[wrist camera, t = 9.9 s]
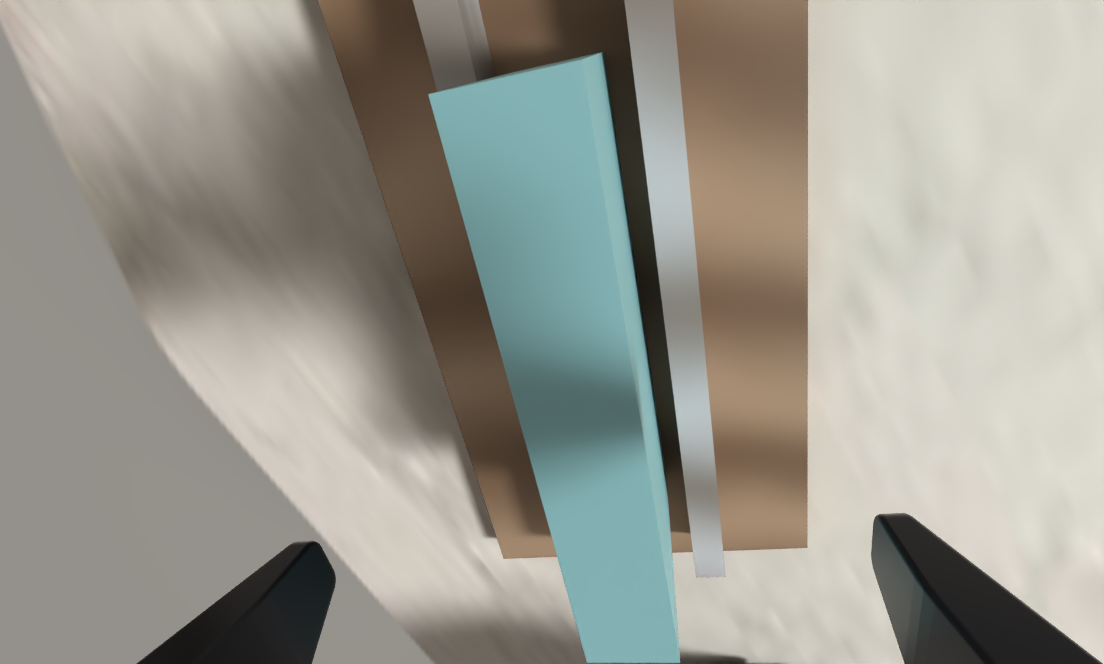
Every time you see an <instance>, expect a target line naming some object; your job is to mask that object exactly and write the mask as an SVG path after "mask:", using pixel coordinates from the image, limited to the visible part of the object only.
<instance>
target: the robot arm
mask: <svg viewBox="0 0 1104 664" xmlns="http://www.w3.org/2000/svg"><path fill="white" fill-rule="evenodd" d="M871 558H872V565H873V569H874V572H875V576H876V579H877V582H878V585H879V588H880V591H881V594H882V597H883V600H884V603H885V606H886V609H887V612H888V615H889V618H890V621H891V624H892V627H893V630H894V633H895V636H896V639H897V642H898V645H899V648H900V651H901V654H902V657H903V660H904V663H905V664H1102V663H1101V662H1100V661H1099V660H1097V659H1096V658H1095V657H1093V656H1092V655H1091V654H1090V653H1088V652H1087V651H1086V650H1084V649H1083V648H1082V647H1080V646H1079V645H1078V644H1077V643H1075V642H1074V641H1073V640H1071V639H1070V638H1069V637H1067V636H1066V635H1065V634H1064V633H1062V632H1061V631H1060V630H1058V629H1057V628H1056V627H1055V626H1053V625H1052V624H1051V623H1049V622H1048V621H1047V620H1045V619H1044V618H1043V617H1042V616H1040V615H1039V614H1038V613H1036V612H1035V611H1034V610H1033V609H1031V608H1030V607H1029V606H1027V605H1026V604H1025V603H1023V602H1022V601H1021V600H1020V599H1018V598H1017V597H1016V596H1014V595H1013V594H1012V593H1010V592H1009V591H1008V590H1007V589H1005V588H1004V587H1003V586H1001V585H1000V584H999V583H998V582H996V581H995V580H994V579H992V578H991V577H990V576H988V575H987V574H986V573H985V572H983V571H982V570H981V569H979V568H978V567H977V566H975V565H974V564H973V563H972V562H970V561H969V560H968V559H966V558H965V557H964V556H963V555H961V554H960V553H959V552H957V551H956V550H955V549H953V548H952V547H951V546H950V545H948V544H947V543H946V542H944V541H943V540H942V539H941V538H939V537H938V536H937V535H935V534H934V533H933V532H931V531H930V530H929V529H928V528H926V527H925V526H924V525H922V524H921V523H920V522H918V521H917V520H916V519H915V518H913V517H912V516H910V515H908V514H905V513H894V514H879V515H877V516H876V517H875V519H874V523H873V537H872V551H871ZM335 582H336V577H335V572H334V570H333V568H332V566H331V564H330V562H329V560H328V558H327V557H326V555H325V553H324V551H323V549H322V547H321V546H320V544H319V543H317V542H315V541H303V542H295V543H292V544H290V545H289V546H288V547H286V548H285V549H284V550H283V551H281V552H280V553H279V554H277V555H276V556H275V557H274V558H273V559H271V560H270V561H268V562H267V563H266V564H264V566H262V567H261V568H259V569H258V570H257V571H255V572H254V573H253V574H252V575H250V576H249V577H248V578H246V579H245V580H244V581H243V582H241V583H240V584H239V585H238V586H236V587H235V588H234V589H232V590H231V591H230V592H228V593H227V594H226V595H224V596H223V597H222V598H221V599H219V600H218V601H217V602H215V603H214V604H213V605H212V606H210V607H209V608H208V609H206V610H205V611H204V612H203V613H201V614H200V615H199V616H197V617H196V618H195V619H194V620H192V621H191V622H190V623H188V624H187V625H186V626H185V627H183V628H182V629H181V630H179V631H178V632H177V633H176V634H174V635H173V636H172V637H170V638H169V639H168V640H166V641H165V642H164V643H163V644H161V645H160V646H159V647H158V648H156V649H155V650H153V651H152V652H151V653H150V654H148V655H147V656H146V657H145V658H143V659H142V660H141V661H139V662H138V663H137V664H312V661H313V657H314V654H315V651H316V648H317V644H318V641H319V638H320V634H321V631H322V628H323V625H324V621H325V618H326V615H327V611H328V608H329V605H330V601H331V598H332V595H333V591H334V588H335Z"/></svg>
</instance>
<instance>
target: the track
mask: <svg viewBox="0 0 1104 664" xmlns="http://www.w3.org/2000/svg"><path fill="white" fill-rule="evenodd" d="M318 3H319V6H320V9H321V12H322V15H323V18H324V21H325V24H326V27H327V30H328V33H329V36H330V39H331V42H332V45H333V48H334V51H335V54H336V57H337V60H338V63H339V66H340V69H341V72H342V75H343V78H344V81H345V84H346V87H347V90H348V93H349V96H350V99H351V102H352V105H353V108H354V111H355V114H356V117H357V120H358V123H359V126H360V129H361V132H362V135H363V138H364V141H365V144H366V147H367V150H368V153H369V156H370V159H371V162H372V165H373V168H374V171H375V174H376V177H377V180H378V183H379V186H380V189H381V192H382V195H383V198H384V201H385V204H386V207H387V210H388V213H389V216H390V219H391V222H392V225H393V228H394V231H395V234H396V237H397V240H398V243H399V246H400V249H401V252H402V255H403V258H404V261H405V264H406V267H407V270H408V273H409V276H410V279H411V282H412V285H413V288H414V291H415V294H416V297H417V300H418V303H419V306H420V309H421V312H422V315H423V318H424V321H425V324H426V327H427V330H428V333H429V336H430V339H431V342H432V345H433V348H434V351H435V354H436V357H437V360H438V363H439V366H440V369H441V372H442V375H443V378H444V381H445V384H446V387H447V390H448V393H449V396H450V399H451V402H452V405H453V408H454V411H455V414H456V417H457V420H458V423H459V426H460V429H461V432H462V435H463V438H464V441H465V444H466V447H467V450H468V453H469V456H470V459H471V462H472V465H473V468H474V471H475V474H476V477H477V480H478V483H479V486H480V489H481V492H482V495H483V498H484V501H485V504H486V507H487V510H488V513H489V516H490V519H491V522H492V525H493V528H494V531H495V534H496V537H497V540H498V543H499V546H500V549H501V552H502V555H503V558H504V559H508V558H536V557H557V554H556V550H555V547H554V543H553V540H552V536H551V532H550V529H549V525H548V522H547V518H546V514H545V511H544V507H543V504H542V500H541V497H540V493H539V489H538V486H537V482H536V479H535V475H534V471H533V468H532V464H531V461H530V457H529V454H528V450H527V446H526V443H525V439H524V436H523V432H522V428H521V425H520V421H519V418H518V414H517V411H516V407H515V403H514V400H513V396H512V393H511V389H510V385H509V382H508V378H507V375H506V371H505V368H504V364H503V360H502V357H501V353H500V350H499V346H498V343H497V339H496V335H495V332H494V328H493V325H492V321H491V317H490V314H489V310H488V307H487V303H486V300H485V296H484V292H483V289H482V285H481V282H480V278H479V274H478V271H477V267H476V264H475V260H474V257H473V253H472V249H471V246H470V242H469V239H468V235H467V231H466V228H465V224H464V221H463V217H462V214H461V210H460V206H459V203H458V199H457V196H456V192H455V189H454V185H453V181H452V178H451V174H450V171H449V167H448V163H447V160H446V156H445V153H444V149H443V146H442V142H441V138H440V135H439V131H438V128H437V124H436V120H435V117H434V113H433V110H432V106H431V103H430V99H429V95H428V94H431V93H435V92H439V91H443V90H447V89H451V88H454V87H458V86H462V85H466V84H470V83H474V82H477V81H481V80H485V79H489V78H493V77H497V76H500V75H504V74H508V73H512V72H516V71H520V70H525V69H529V68H534V67H538V66H542V65H547V64H551V63H556V62H560V61H564V60H569V59H573V58H578V57H582V56H586V55H591V54H595V53H600V52H605V59H606V66H607V73H608V80H609V86H610V93H611V100H612V107H613V114H614V121H615V127H616V134H617V141H618V148H619V155H620V162H621V168H622V175H623V182H624V189H625V196H626V203H627V209H628V216H629V223H630V230H631V237H632V244H633V250H634V257H635V264H636V271H637V278H638V285H639V291H640V298H641V305H642V312H643V319H644V326H645V332H646V339H647V346H648V353H649V360H650V367H651V373H652V380H653V387H654V394H655V401H656V408H657V414H658V421H659V428H660V435H661V442H662V448H663V455H664V462H665V469H666V478H667V491H668V505H669V518H670V532H671V545H672V553H676V552H693V556H694V564H695V572H696V577H725V566H724V555H723V551H732V550H760V549H787V548H807V375H808V0H318Z"/></svg>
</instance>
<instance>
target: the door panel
mask: <svg viewBox="0 0 1104 664" xmlns="http://www.w3.org/2000/svg"><path fill="white" fill-rule="evenodd" d="M428 95H429V99H430V103H431V106H432V110H433V113H434V117H435V120H436V124H437V128H438V131H439V135H440V138H441V142H442V146H443V149H444V153H445V156H446V160H447V163H448V167H449V171H450V174H451V178H452V181H453V185H454V189H455V192H456V196H457V199H458V203H459V206H460V210H461V214H462V217H463V221H464V224H465V228H466V231H467V235H468V239H469V242H470V246H471V249H472V253H473V257H474V260H475V264H476V267H477V271H478V274H479V278H480V282H481V285H482V289H483V292H484V296H485V300H486V303H487V307H488V310H489V314H490V317H491V321H492V325H493V328H494V332H495V335H496V339H497V343H498V346H499V350H500V353H501V357H502V360H503V364H504V368H505V371H506V375H507V378H508V382H509V385H510V389H511V393H512V396H513V400H514V403H515V407H516V411H517V414H518V418H519V421H520V425H521V428H522V432H523V436H524V439H525V443H526V446H527V450H528V454H529V457H530V461H531V464H532V468H533V471H534V475H535V479H536V482H537V486H538V489H539V493H540V497H541V500H542V504H543V507H544V511H545V514H546V518H547V522H548V525H549V529H550V532H551V536H552V540H553V543H554V547H555V550H556V554H557V557H558V561H559V565H560V568H561V572H562V575H563V579H564V582H565V586H566V590H567V593H568V597H569V600H570V604H571V608H572V611H573V615H574V618H575V622H576V625H577V629H578V633H579V636H580V640H581V643H582V647H583V651H584V654H585V658H586V661H587V663H680V653H679V640H678V626H677V613H676V599H675V586H674V572H673V559H672V545H671V532H670V518H669V505H668V491H667V478H666V469H665V462H664V455H663V448H662V442H661V435H660V428H659V421H658V414H657V408H656V401H655V394H654V387H653V380H652V373H651V367H650V360H649V353H648V346H647V339H646V332H645V326H644V319H643V312H642V305H641V298H640V291H639V285H638V278H637V271H636V264H635V257H634V250H633V244H632V237H631V230H630V223H629V216H628V209H627V203H626V196H625V189H624V182H623V175H622V168H621V162H620V155H619V148H618V141H617V134H616V127H615V121H614V114H613V107H612V100H611V93H610V86H609V80H608V73H607V66H606V59H605V52H600V53H595V54H591V55H586V56H582V57H578V58H573V59H569V60H564V61H560V62H556V63H551V64H547V65H542V66H538V67H534V68H529V69H525V70H520V71H516V72H512V73H508V74H504V75H500V76H497V77H493V78H489V79H485V80H481V81H477V82H474V83H470V84H466V85H462V86H458V87H454V88H451V89H447V90H443V91H439V92H435V93H431V94H428Z"/></svg>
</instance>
